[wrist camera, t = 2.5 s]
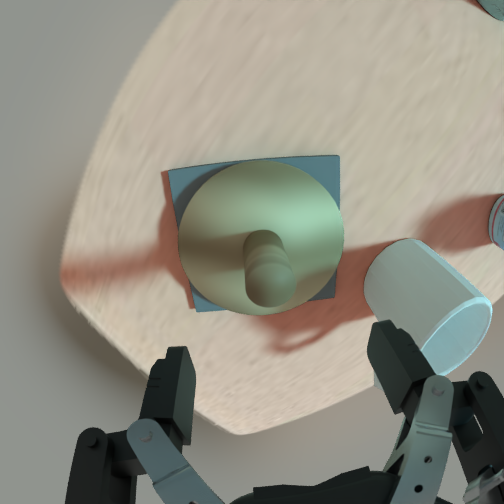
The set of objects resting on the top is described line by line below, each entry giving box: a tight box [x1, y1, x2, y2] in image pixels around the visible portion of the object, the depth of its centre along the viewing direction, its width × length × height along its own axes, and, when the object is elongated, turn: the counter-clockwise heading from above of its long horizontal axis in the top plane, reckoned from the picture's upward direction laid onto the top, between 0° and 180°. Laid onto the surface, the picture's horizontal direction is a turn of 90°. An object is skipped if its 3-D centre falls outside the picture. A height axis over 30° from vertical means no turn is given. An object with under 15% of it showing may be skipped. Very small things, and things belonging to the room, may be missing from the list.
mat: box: [168, 155, 340, 312], centre depth 21 cm, size 12×12×1 cm
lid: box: [178, 160, 344, 315], centre depth 18 cm, size 12×12×6 cm
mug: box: [364, 239, 492, 391], centre depth 20 cm, size 8×12×10 cm
